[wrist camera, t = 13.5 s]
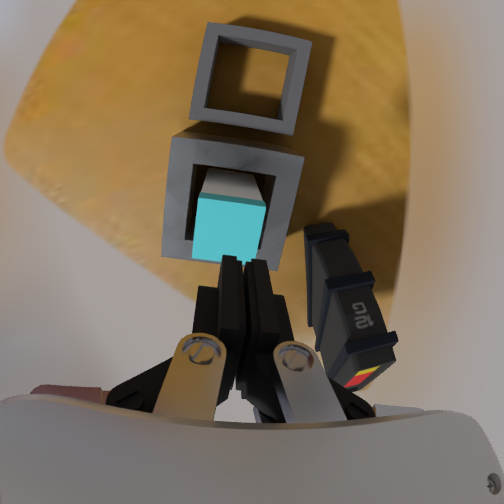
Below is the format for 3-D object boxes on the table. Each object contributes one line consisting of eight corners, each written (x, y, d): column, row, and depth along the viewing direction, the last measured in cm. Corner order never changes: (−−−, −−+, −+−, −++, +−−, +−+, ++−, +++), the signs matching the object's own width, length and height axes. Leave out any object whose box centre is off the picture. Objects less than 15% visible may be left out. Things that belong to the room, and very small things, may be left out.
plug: (207, 167, 26) (198, 197, 18) (254, 174, 26) (266, 207, 18) (201, 210, 27) (191, 258, 19) (246, 216, 28) (253, 265, 20)
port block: (182, 130, 24) (172, 136, 19) (291, 147, 25) (304, 157, 21) (171, 231, 28) (161, 256, 24) (269, 244, 29) (277, 271, 25)
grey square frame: (209, 31, 20) (207, 22, 17) (303, 48, 21) (312, 41, 18) (193, 117, 23) (188, 119, 21) (285, 132, 25) (292, 135, 22)
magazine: (340, 194, 26) (404, 356, 17) (326, 273, 36) (358, 392, 27) (300, 199, 26) (351, 371, 17) (296, 279, 36) (323, 401, 27)
